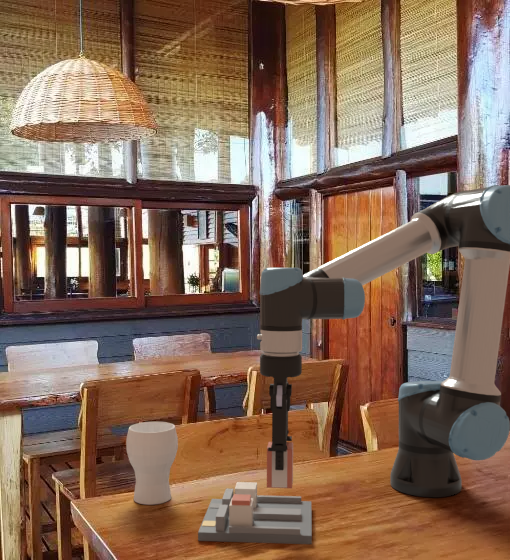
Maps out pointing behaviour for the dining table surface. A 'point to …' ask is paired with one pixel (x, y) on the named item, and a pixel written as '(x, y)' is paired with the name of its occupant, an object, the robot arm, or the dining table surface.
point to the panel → (260, 521)
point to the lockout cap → (289, 465)
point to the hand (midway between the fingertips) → (280, 481)
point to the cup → (152, 459)
